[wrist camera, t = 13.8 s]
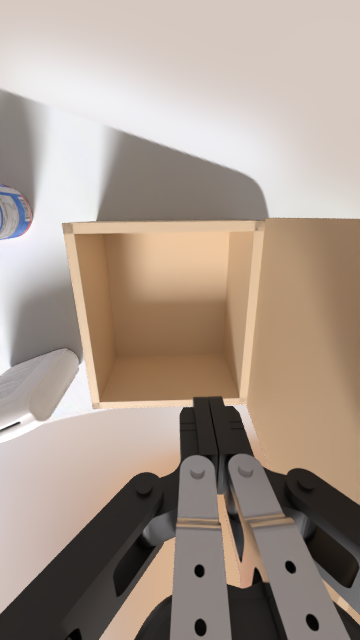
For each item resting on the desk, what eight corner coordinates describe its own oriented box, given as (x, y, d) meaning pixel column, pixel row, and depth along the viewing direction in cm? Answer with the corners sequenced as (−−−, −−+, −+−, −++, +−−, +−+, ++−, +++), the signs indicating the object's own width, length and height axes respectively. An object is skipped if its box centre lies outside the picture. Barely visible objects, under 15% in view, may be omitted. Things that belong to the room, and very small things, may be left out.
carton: (112, 359, 36) (92, 408, 27) (96, 221, 30) (61, 223, 20) (227, 356, 37) (246, 404, 27) (236, 219, 30) (265, 220, 21)
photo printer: (21, 391, 38) (-44, 467, 26) (4, 367, 36) (-74, 437, 25) (85, 368, 37) (46, 437, 25) (70, 342, 35) (21, 403, 24)
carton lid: (326, 629, 13) (455, 627, 13) (487, 220, 6) (765, 217, 6) (246, 405, 27) (305, 404, 27) (265, 217, 21) (343, 217, 21)
